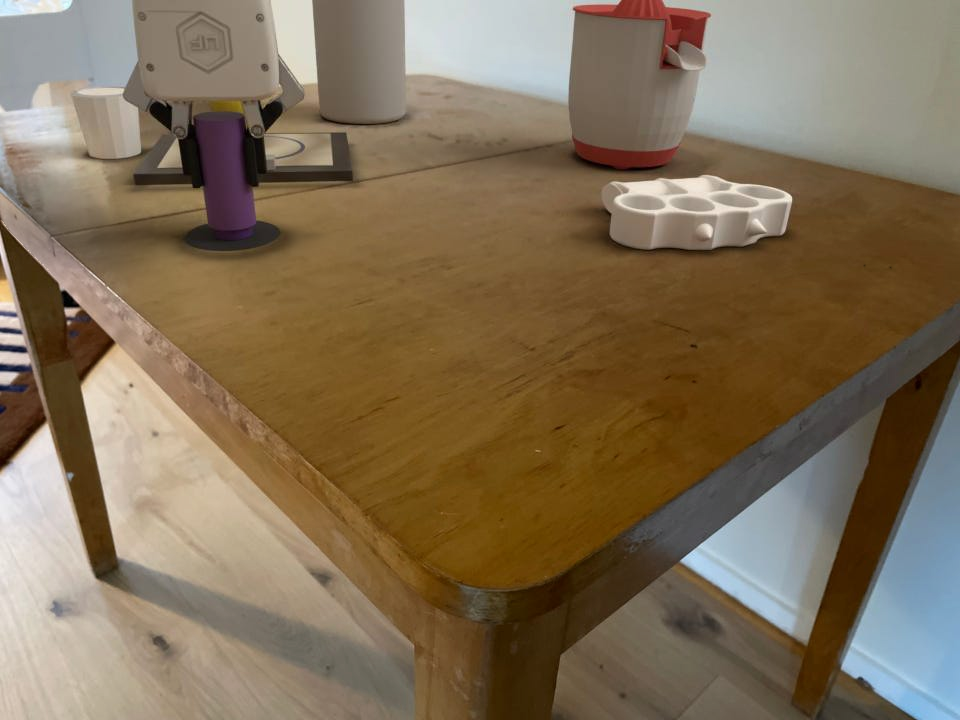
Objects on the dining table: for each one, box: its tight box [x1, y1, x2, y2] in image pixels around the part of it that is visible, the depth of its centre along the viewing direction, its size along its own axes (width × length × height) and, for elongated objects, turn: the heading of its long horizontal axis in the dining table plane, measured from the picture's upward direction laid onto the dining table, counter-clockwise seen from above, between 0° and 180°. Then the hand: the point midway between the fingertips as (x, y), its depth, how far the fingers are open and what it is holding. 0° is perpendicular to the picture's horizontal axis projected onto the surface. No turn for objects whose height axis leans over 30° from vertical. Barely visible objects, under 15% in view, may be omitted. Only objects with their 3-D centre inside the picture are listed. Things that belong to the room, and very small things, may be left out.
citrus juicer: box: [567, 0, 712, 170], centre depth 92 cm, size 16×17×20 cm
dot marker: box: [192, 111, 257, 240], centre depth 65 cm, size 4×4×10 cm
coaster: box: [183, 219, 281, 252], centre depth 68 cm, size 8×8×1 cm
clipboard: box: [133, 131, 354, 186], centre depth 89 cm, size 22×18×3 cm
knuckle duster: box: [600, 174, 793, 251], centre depth 74 cm, size 3×18×15 cm
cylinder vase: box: [311, 0, 407, 125], centre depth 108 cm, size 12×12×25 cm
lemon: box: [209, 101, 248, 128], centre depth 100 cm, size 6×6×8 cm
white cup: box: [70, 86, 142, 160], centre depth 90 cm, size 7×7×7 cm
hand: (227, 180), depth 65 cm, fingers closed on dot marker, 3 cm apart
